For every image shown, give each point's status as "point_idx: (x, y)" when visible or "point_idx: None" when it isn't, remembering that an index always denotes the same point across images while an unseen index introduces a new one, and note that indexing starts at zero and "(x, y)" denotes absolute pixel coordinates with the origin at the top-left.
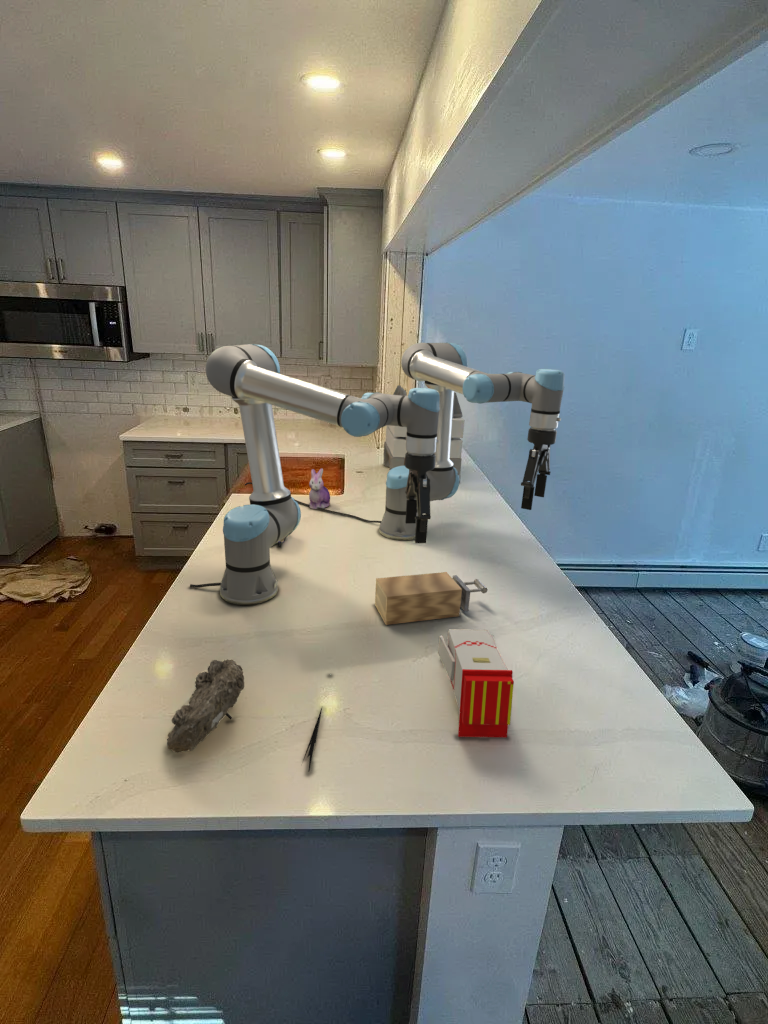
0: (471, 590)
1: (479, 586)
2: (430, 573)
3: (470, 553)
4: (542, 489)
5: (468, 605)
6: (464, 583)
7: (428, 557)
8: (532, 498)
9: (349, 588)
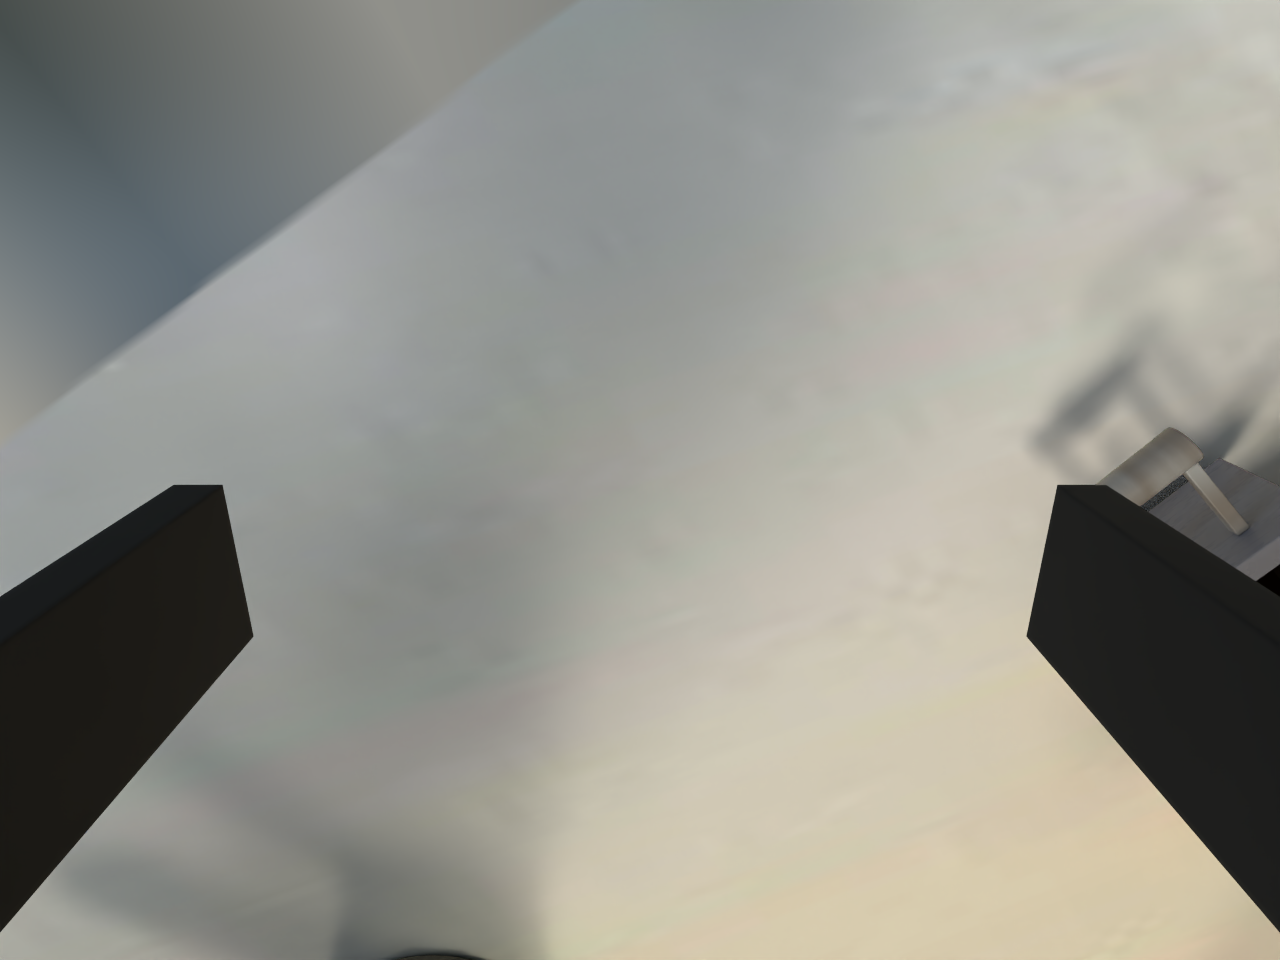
0: (1233, 507)
1: (1166, 484)
2: None
3: (453, 689)
4: (138, 593)
5: (1246, 471)
6: None
7: (650, 832)
8: (1249, 589)
9: (1150, 948)
